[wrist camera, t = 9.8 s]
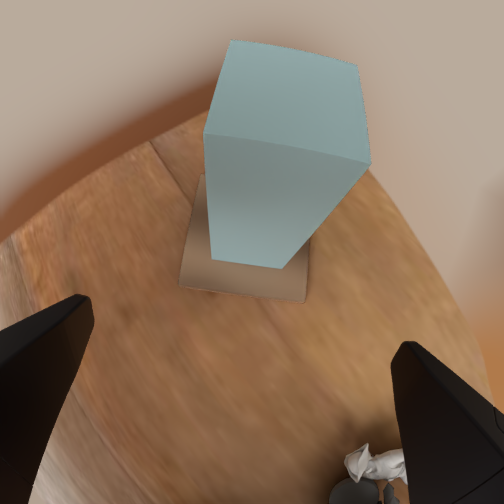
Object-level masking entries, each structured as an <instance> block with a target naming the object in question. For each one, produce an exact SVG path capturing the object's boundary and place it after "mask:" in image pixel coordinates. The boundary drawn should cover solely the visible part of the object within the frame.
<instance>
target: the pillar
mask: <svg viewBox="0 0 504 504" xmlns="http://www.w3.org/2000/svg"><path fill="white" fill-rule="evenodd" d="M203 142H204V160H205V177H206V192H207V206H208V220H209V232H210V245H211V256H212V259H213V260H220V261H227V262H234V263H241V264H249V265H256V266H263V267H270V268H277V269H282V268H283V267H284V266H285V265H286V264H287V263H288V262H289V260H290V259H291V258H292V257H293V256H294V255H295V254H296V252H297V251H298V250H299V249H300V248H301V247H302V246H303V244H304V243H305V242H306V241H307V240H308V239H309V237H310V236H311V235H312V234H313V233H314V232H315V231H316V229H317V228H318V227H319V226H320V225H321V224H322V222H323V221H324V220H325V219H326V218H327V217H328V215H329V214H330V213H331V212H332V211H333V210H334V208H335V207H336V206H337V205H338V204H339V202H340V201H341V200H342V199H343V198H344V197H345V195H346V194H347V193H348V192H349V191H350V189H351V188H352V187H353V186H354V185H355V183H356V182H357V181H358V180H359V179H360V177H361V176H362V175H363V174H364V173H365V171H366V170H367V169H368V168H369V166H370V165H371V156H370V147H369V138H368V129H367V122H366V115H365V108H364V101H363V96H362V89H361V84H360V78H359V72H358V67H357V65H355V64H352V63H348V62H344V61H341V60H338V59H334V58H330V57H326V56H322V55H318V54H314V53H309V52H305V51H301V50H296V49H291V48H286V47H280V46H274V45H268V44H262V43H255V42H247V41H239V40H231V42H230V45H229V48H228V51H227V54H226V57H225V60H224V63H223V66H222V70H221V73H220V76H219V79H218V83H217V86H216V89H215V93H214V96H213V99H212V103H211V106H210V110H209V113H208V117H207V121H206V124H205V128H204V132H203Z"/></svg>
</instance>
